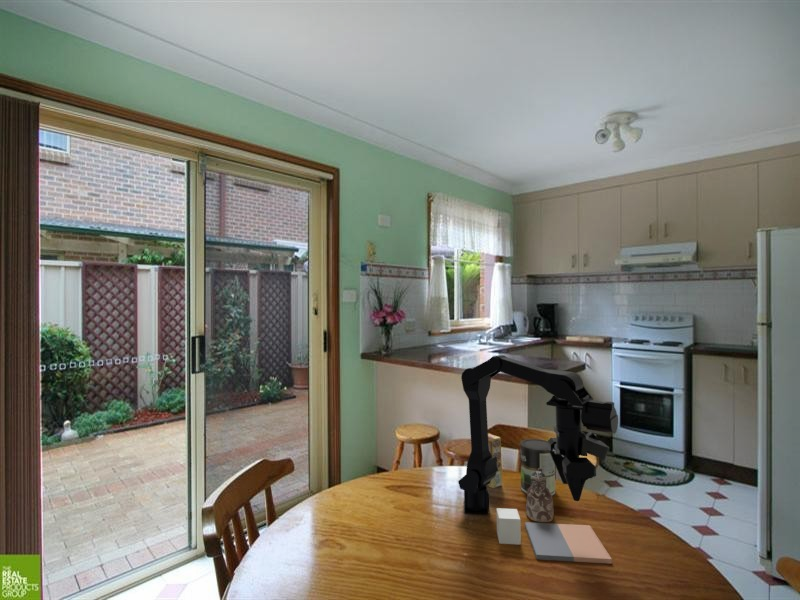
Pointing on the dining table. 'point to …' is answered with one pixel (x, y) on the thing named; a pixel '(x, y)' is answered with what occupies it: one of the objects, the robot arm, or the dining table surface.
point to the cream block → (508, 526)
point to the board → (566, 543)
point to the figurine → (539, 499)
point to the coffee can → (536, 463)
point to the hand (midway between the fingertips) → (570, 491)
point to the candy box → (496, 451)
